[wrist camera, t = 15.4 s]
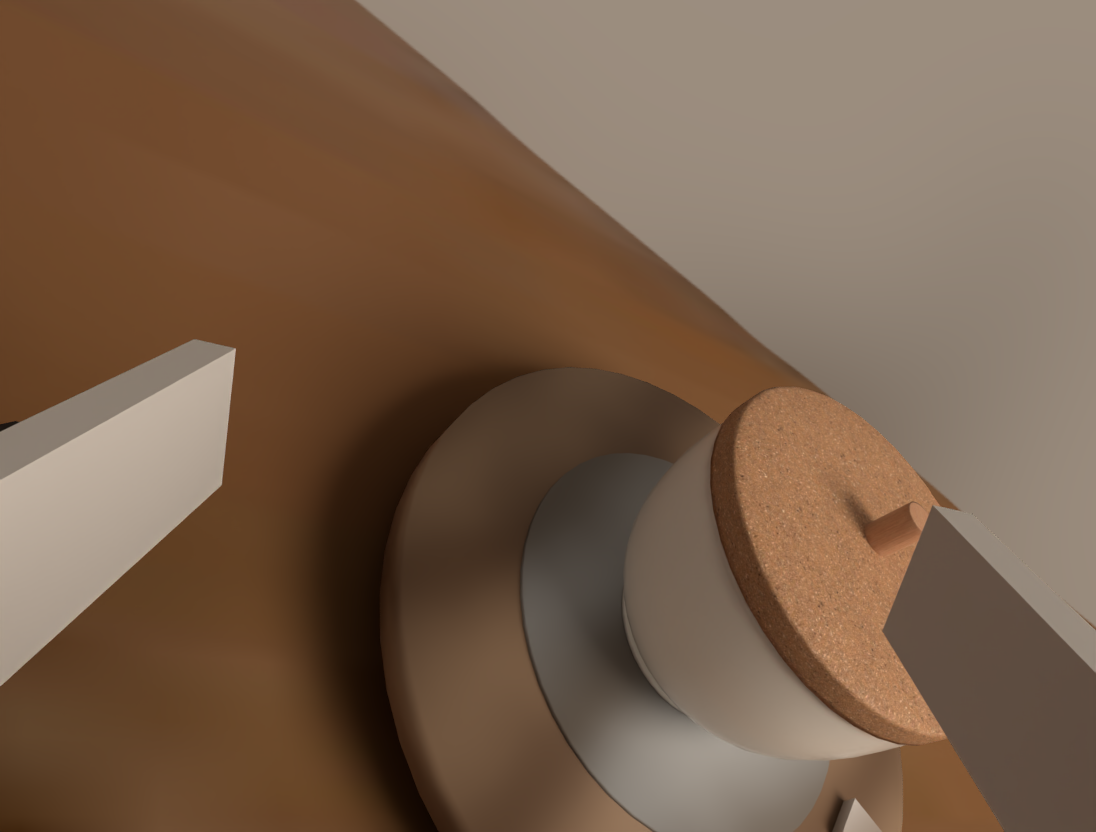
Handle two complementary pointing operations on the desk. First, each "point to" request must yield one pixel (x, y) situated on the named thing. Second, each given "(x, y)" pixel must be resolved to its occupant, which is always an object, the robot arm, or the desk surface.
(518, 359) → the desk surface
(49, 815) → the desk surface
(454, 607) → the turntable
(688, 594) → the lidded jar
